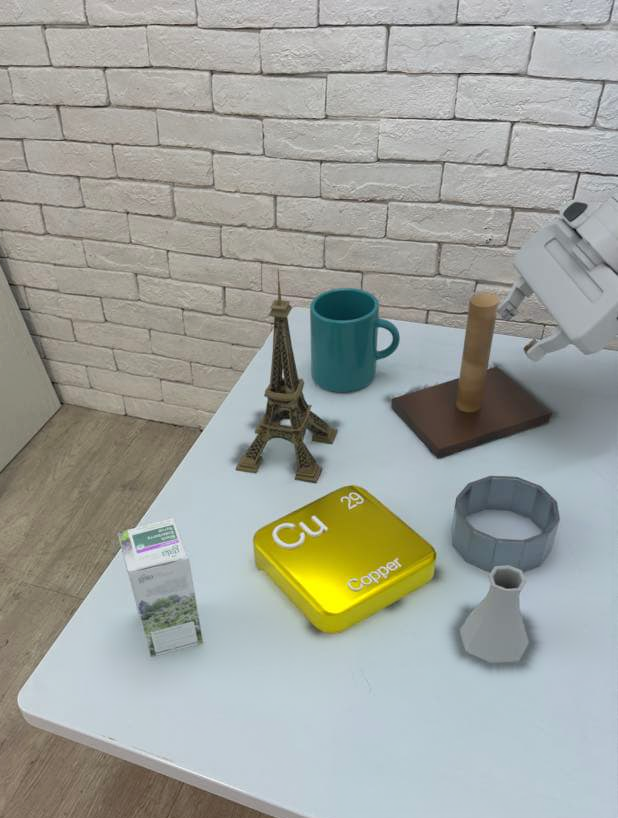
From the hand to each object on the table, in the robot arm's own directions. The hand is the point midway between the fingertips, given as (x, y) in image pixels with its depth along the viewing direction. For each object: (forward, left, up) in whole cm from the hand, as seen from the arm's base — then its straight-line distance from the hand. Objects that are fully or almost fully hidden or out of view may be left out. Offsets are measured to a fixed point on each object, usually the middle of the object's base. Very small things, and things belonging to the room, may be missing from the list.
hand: (514, 335), depth 97 cm
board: (+4, -1, -11) cm, 12 cm away
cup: (+13, -16, -11) cm, 24 cm away
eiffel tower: (+28, -5, -11) cm, 31 cm away
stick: (+4, -1, -10) cm, 11 cm away
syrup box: (+51, +18, -11) cm, 55 cm away
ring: (+14, +21, -11) cm, 28 cm away
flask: (+22, +32, -11) cm, 40 cm away
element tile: (+31, +17, -11) cm, 37 cm away
